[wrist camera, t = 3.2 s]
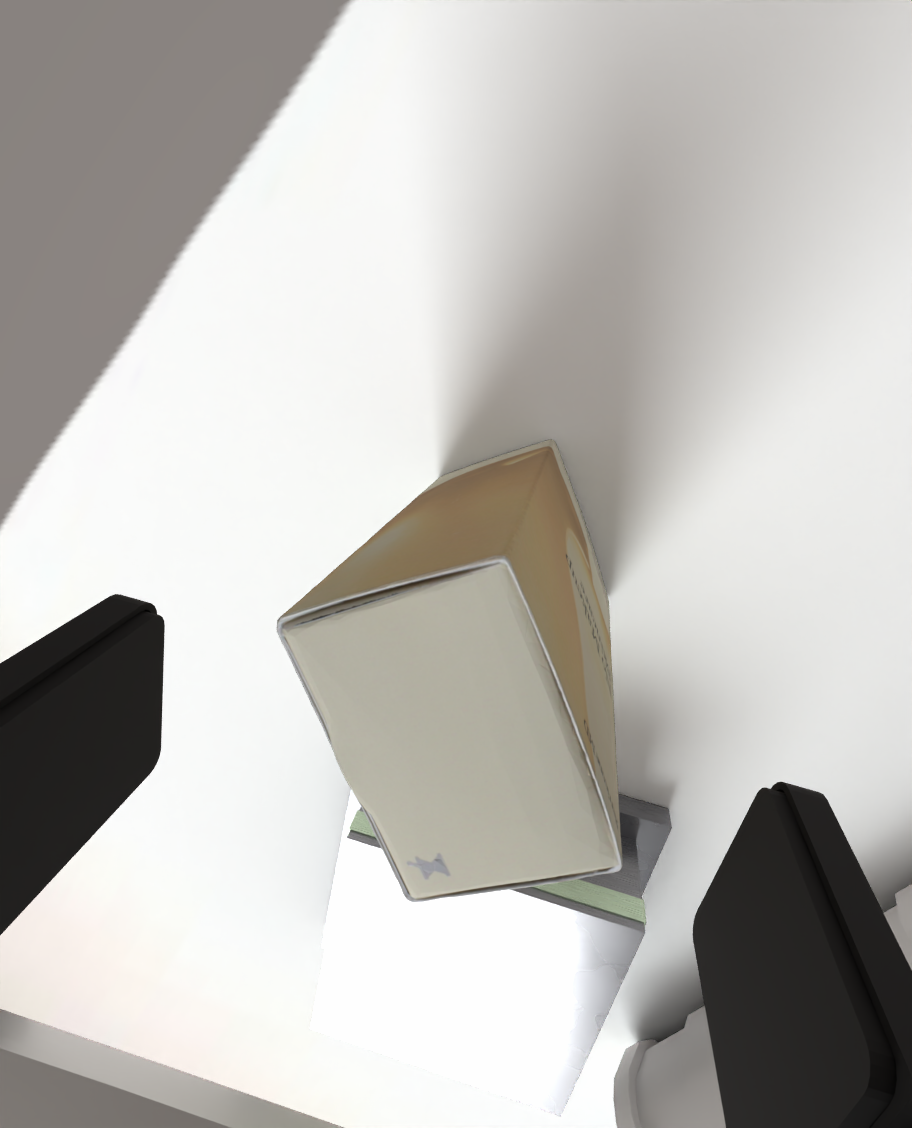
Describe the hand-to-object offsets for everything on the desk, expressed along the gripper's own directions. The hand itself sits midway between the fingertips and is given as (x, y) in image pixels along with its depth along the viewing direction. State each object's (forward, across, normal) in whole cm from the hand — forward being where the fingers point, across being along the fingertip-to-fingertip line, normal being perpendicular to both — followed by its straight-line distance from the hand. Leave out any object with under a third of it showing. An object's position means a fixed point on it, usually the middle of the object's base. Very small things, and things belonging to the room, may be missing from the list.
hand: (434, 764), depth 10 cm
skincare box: (+13, 0, +1) cm, 13 cm away
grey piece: (+13, -2, +16) cm, 20 cm away
